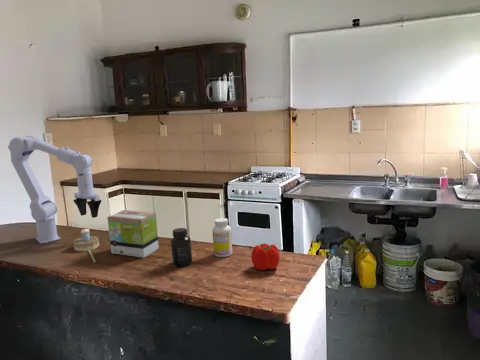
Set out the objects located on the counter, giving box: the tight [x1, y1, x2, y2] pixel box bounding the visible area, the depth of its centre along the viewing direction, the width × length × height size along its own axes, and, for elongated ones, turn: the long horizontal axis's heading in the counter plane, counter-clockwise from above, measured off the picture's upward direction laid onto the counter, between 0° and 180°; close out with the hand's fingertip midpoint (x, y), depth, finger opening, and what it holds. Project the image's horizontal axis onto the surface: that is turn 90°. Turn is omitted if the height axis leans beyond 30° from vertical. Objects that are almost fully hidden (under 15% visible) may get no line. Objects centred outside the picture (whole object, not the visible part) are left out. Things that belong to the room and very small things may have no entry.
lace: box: [87, 250, 97, 263], centre depth 150 cm, size 14×1×1 cm, turn 28°
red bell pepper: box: [251, 243, 281, 271], centre depth 132 cm, size 9×9×8 cm
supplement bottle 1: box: [170, 227, 193, 268], centre depth 138 cm, size 7×7×12 cm
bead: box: [72, 235, 100, 252], centre depth 161 cm, size 9×9×3 cm
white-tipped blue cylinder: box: [80, 228, 91, 242], centre depth 160 cm, size 3×3×7 cm
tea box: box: [107, 209, 160, 259], centre depth 152 cm, size 15×10×15 cm
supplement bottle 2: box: [212, 217, 233, 258], centre depth 145 cm, size 7×7×13 cm
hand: (89, 216), depth 169 cm, fingers open, 7 cm apart
